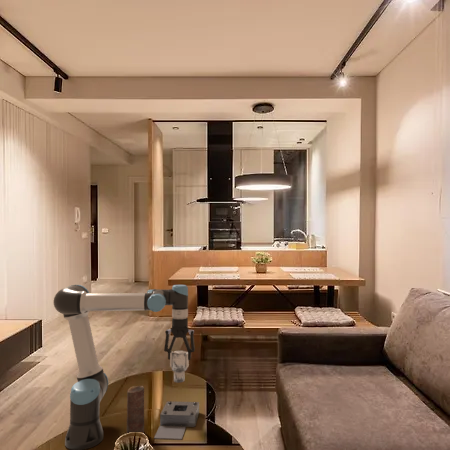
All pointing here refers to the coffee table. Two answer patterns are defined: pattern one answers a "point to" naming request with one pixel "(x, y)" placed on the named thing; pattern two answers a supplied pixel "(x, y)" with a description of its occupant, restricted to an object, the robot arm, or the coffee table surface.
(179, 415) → the housing
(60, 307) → the robot arm
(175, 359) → the silver stepped plug
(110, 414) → the coffee table surface
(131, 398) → the candle
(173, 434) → the mat
